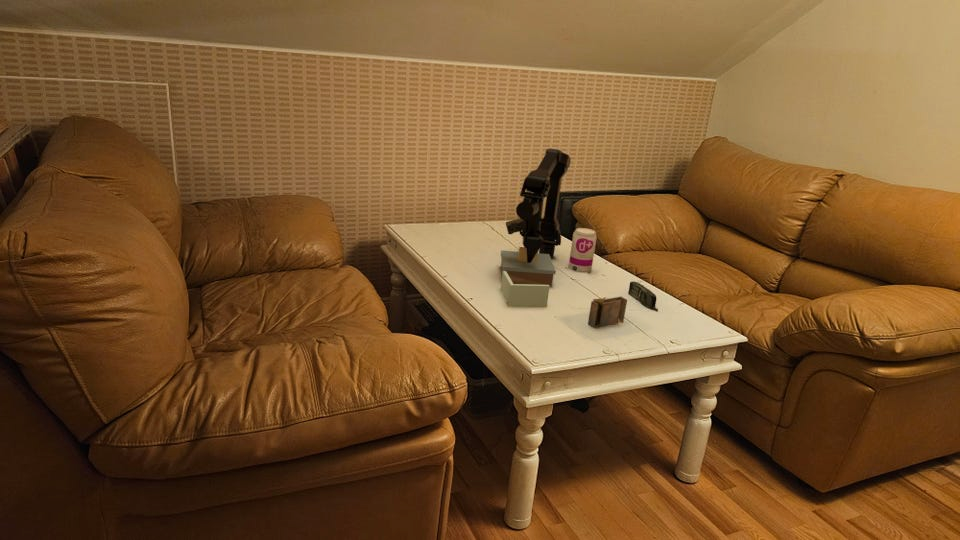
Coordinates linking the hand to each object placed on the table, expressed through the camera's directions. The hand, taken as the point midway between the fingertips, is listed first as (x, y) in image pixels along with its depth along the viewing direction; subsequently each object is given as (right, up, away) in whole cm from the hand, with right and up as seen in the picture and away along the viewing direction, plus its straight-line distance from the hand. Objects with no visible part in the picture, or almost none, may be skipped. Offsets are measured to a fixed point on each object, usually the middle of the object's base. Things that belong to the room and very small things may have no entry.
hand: (527, 258), depth 202 cm
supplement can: (+20, -4, +16) cm, 26 cm away
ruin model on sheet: (+21, -20, -26) cm, 39 cm away
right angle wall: (-3, -14, -14) cm, 20 cm away
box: (-1, -7, +3) cm, 7 cm away
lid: (0, -2, +1) cm, 2 cm away
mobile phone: (+36, -15, -8) cm, 40 cm away
